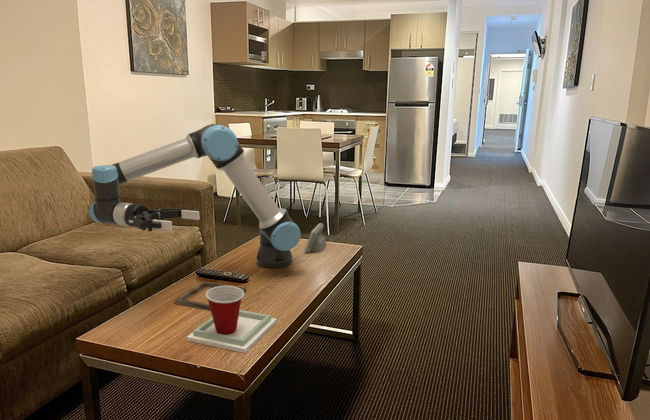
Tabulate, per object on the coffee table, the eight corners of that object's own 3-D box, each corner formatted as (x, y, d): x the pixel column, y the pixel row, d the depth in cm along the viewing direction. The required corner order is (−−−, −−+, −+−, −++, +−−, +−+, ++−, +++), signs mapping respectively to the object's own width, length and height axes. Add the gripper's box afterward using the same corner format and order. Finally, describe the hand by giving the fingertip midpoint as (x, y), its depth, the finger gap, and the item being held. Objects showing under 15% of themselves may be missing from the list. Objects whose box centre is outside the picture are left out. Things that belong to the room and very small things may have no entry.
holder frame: (205, 284, 170) (205, 281, 170) (246, 291, 164) (246, 287, 164) (174, 303, 154) (174, 299, 154) (219, 312, 148) (218, 307, 148)
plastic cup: (233, 342, 127) (231, 302, 125) (200, 336, 131) (197, 297, 128) (252, 325, 137) (251, 287, 134) (221, 319, 141) (219, 282, 138)
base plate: (224, 312, 148) (223, 304, 147) (277, 322, 141) (276, 314, 141) (187, 340, 131) (186, 332, 130) (245, 353, 124) (245, 344, 124)
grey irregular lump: (314, 242, 221) (314, 221, 218) (331, 245, 217) (331, 223, 215) (298, 252, 206) (297, 230, 204) (316, 255, 203) (316, 232, 200)
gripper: (158, 217, 163) (209, 222, 156) (103, 236, 140) (159, 243, 133) (157, 196, 161) (208, 201, 154) (100, 212, 139) (157, 218, 131)
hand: (185, 220), depth 144 cm, fingers open, 13 cm apart
